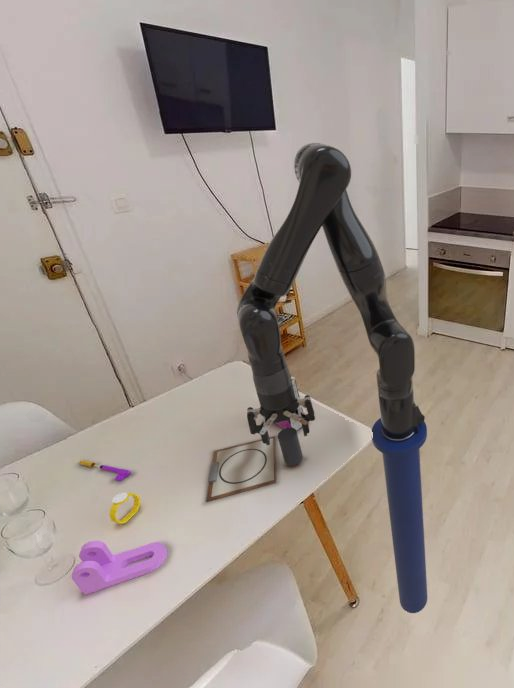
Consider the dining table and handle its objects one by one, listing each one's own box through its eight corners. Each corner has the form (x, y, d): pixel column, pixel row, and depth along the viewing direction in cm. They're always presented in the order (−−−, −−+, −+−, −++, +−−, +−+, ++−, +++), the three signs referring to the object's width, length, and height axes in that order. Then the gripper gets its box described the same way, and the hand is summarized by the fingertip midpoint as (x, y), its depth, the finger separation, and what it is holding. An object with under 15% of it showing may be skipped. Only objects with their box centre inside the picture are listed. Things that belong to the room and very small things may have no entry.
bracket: (84, 595, 75) (67, 573, 72) (93, 567, 79) (77, 545, 76) (164, 567, 79) (151, 545, 76) (169, 542, 84) (156, 520, 80)
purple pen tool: (132, 472, 100) (83, 461, 103) (130, 469, 99) (79, 458, 103) (124, 482, 98) (74, 470, 101) (121, 480, 97) (70, 468, 101)
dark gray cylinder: (303, 453, 104) (296, 425, 99) (304, 466, 100) (297, 437, 96) (285, 458, 103) (277, 430, 98) (285, 471, 99) (277, 442, 94)
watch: (124, 529, 86) (112, 511, 83) (113, 527, 87) (101, 509, 84) (146, 505, 92) (136, 487, 89) (136, 503, 92) (125, 485, 89)
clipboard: (275, 437, 109) (274, 433, 109) (276, 482, 96) (275, 479, 96) (214, 452, 105) (212, 448, 104) (206, 502, 92) (205, 498, 91)
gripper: (237, 401, 84) (255, 457, 92) (308, 386, 88) (319, 441, 96) (239, 380, 91) (256, 435, 98) (305, 368, 95) (316, 421, 103)
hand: (287, 438), depth 97 cm, fingers open, 8 cm apart
